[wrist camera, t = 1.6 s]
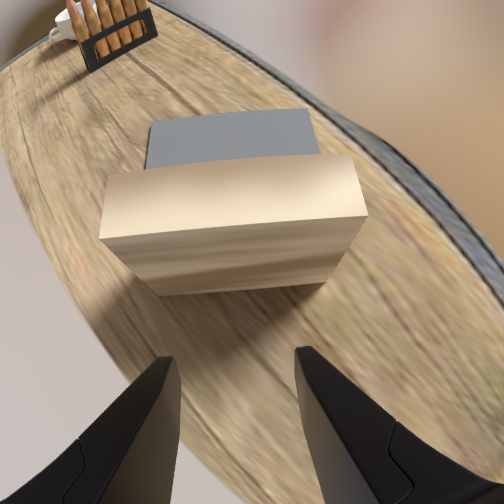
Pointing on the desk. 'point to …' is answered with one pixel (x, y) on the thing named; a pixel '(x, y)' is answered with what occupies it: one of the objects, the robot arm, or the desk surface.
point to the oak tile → (234, 222)
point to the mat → (231, 137)
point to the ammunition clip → (110, 29)
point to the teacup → (69, 23)
